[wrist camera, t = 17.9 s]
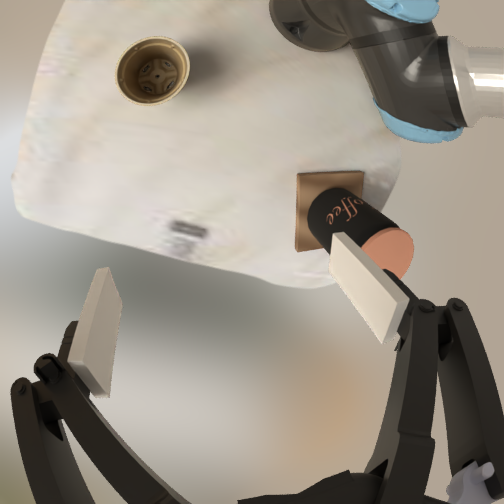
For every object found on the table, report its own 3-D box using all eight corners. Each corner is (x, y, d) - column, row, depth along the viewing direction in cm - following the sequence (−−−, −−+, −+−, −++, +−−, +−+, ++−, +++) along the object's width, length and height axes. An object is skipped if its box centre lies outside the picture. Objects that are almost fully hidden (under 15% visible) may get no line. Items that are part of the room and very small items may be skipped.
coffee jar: (356, 183, 49) (420, 224, 34) (352, 233, 55) (405, 285, 40) (304, 188, 48) (360, 236, 33) (303, 242, 53) (349, 302, 38)
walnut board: (296, 173, 48) (300, 176, 46) (359, 170, 50) (363, 172, 49) (294, 248, 55) (297, 252, 54) (351, 239, 58) (355, 242, 56)
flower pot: (137, 44, 31) (126, 32, 24) (196, 53, 34) (199, 42, 27) (121, 100, 35) (106, 101, 28) (179, 109, 38) (178, 111, 31)
